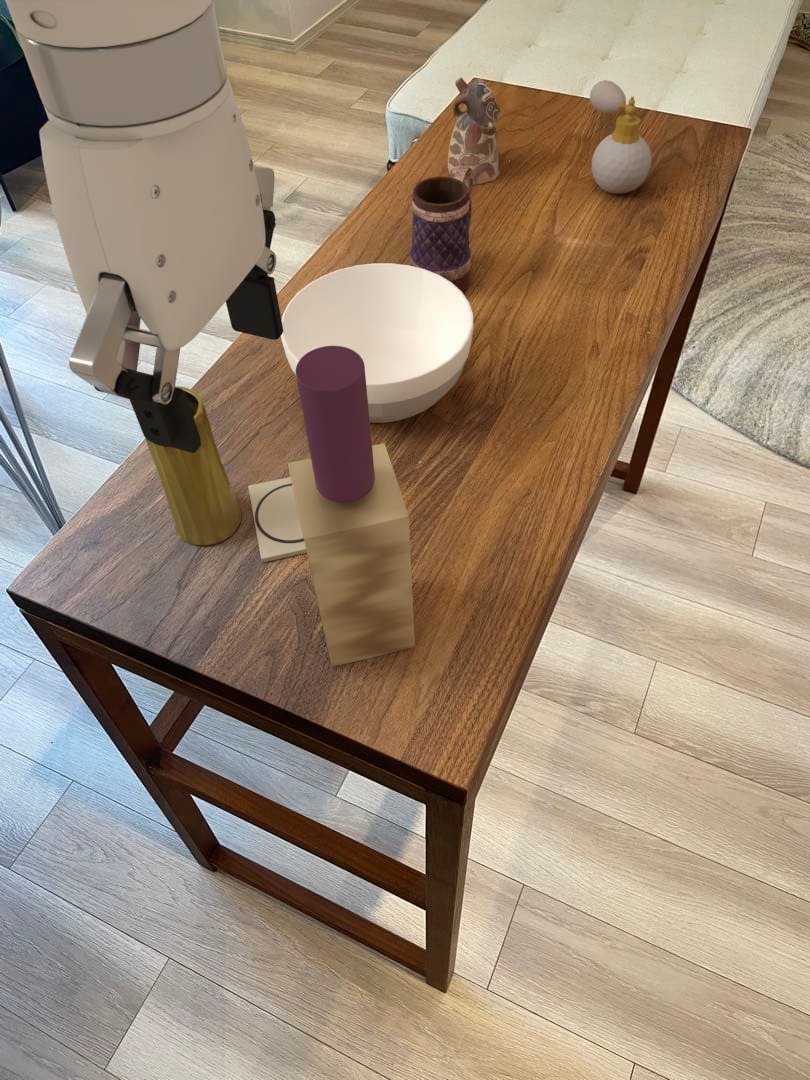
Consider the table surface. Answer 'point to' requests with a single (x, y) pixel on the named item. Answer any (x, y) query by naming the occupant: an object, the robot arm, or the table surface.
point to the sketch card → (276, 519)
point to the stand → (359, 563)
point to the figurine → (475, 131)
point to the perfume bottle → (619, 143)
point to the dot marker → (337, 422)
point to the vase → (197, 485)
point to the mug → (443, 225)
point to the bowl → (386, 332)
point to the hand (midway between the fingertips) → (218, 384)
